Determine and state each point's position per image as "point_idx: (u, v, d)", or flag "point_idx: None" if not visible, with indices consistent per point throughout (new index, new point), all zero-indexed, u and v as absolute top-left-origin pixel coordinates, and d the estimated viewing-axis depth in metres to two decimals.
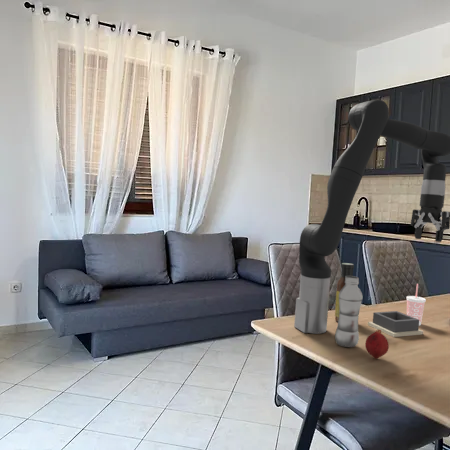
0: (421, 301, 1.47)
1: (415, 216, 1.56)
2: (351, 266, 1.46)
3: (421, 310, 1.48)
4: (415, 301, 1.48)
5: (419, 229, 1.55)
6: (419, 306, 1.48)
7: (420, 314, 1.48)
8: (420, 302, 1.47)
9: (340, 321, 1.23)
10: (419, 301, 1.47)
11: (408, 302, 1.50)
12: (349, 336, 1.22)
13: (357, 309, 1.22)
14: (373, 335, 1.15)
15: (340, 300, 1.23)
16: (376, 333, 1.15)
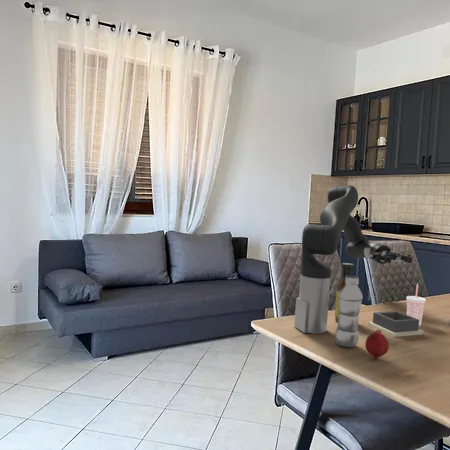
0: (421, 301, 1.47)
1: None
2: (351, 266, 1.46)
3: (421, 310, 1.48)
4: (415, 301, 1.48)
5: None
6: (419, 306, 1.48)
7: (420, 314, 1.48)
8: (420, 302, 1.47)
9: (340, 321, 1.23)
10: (419, 301, 1.47)
11: (408, 302, 1.50)
12: (349, 336, 1.22)
13: (357, 309, 1.22)
14: (373, 335, 1.15)
15: (340, 300, 1.23)
16: (376, 333, 1.15)
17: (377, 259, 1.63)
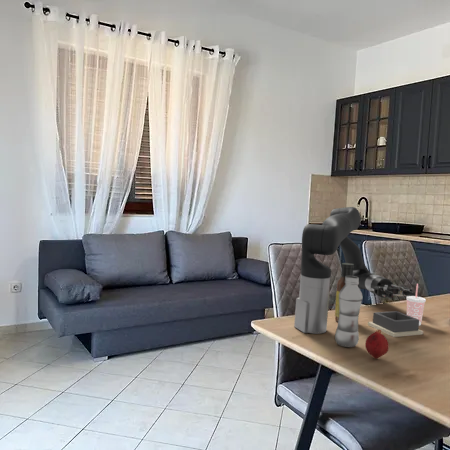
0: (421, 301, 1.47)
1: None
2: (351, 266, 1.46)
3: (421, 310, 1.48)
4: (415, 301, 1.48)
5: None
6: (419, 306, 1.48)
7: (420, 314, 1.48)
8: (420, 302, 1.47)
9: (340, 321, 1.23)
10: (419, 301, 1.47)
11: (408, 302, 1.50)
12: (349, 336, 1.22)
13: (357, 309, 1.22)
14: (373, 335, 1.15)
15: (340, 300, 1.23)
16: (376, 333, 1.15)
17: (379, 294, 1.60)
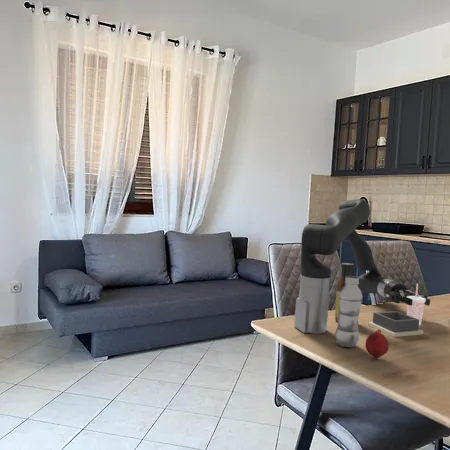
0: (421, 301, 1.47)
1: None
2: (351, 266, 1.46)
3: (421, 310, 1.48)
4: (415, 301, 1.48)
5: None
6: (419, 306, 1.48)
7: (420, 314, 1.48)
8: (420, 302, 1.47)
9: (340, 321, 1.23)
10: (419, 301, 1.47)
11: None
12: (349, 336, 1.22)
13: (357, 309, 1.22)
14: (373, 335, 1.15)
15: (340, 300, 1.23)
16: (376, 333, 1.15)
17: (397, 300, 1.51)
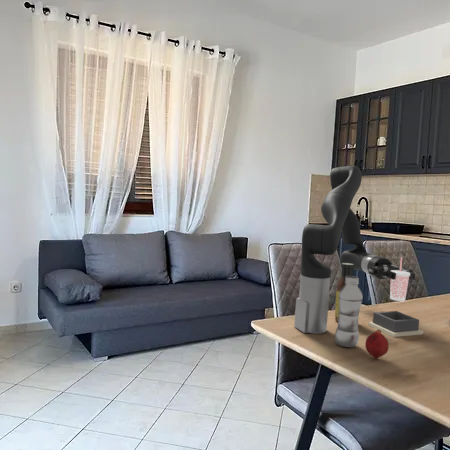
0: (405, 275, 1.38)
1: None
2: (351, 266, 1.46)
3: (405, 284, 1.39)
4: (399, 275, 1.39)
5: None
6: (403, 280, 1.39)
7: (404, 289, 1.39)
8: (404, 276, 1.38)
9: (340, 321, 1.23)
10: (403, 275, 1.38)
11: None
12: (349, 336, 1.22)
13: (357, 309, 1.22)
14: (373, 335, 1.15)
15: (340, 300, 1.23)
16: (376, 333, 1.15)
17: (380, 275, 1.42)
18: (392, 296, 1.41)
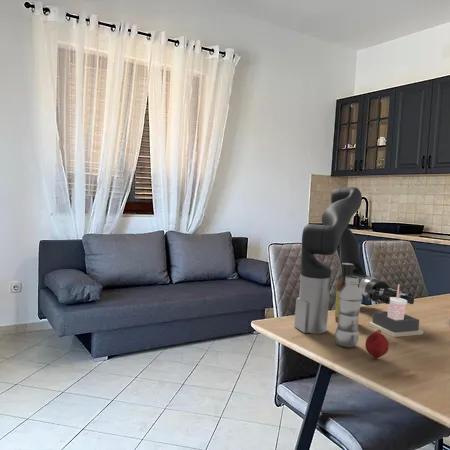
0: (402, 303, 1.39)
1: None
2: (351, 266, 1.46)
3: (402, 312, 1.40)
4: (396, 303, 1.39)
5: None
6: (400, 308, 1.40)
7: (401, 316, 1.40)
8: (401, 304, 1.39)
9: (340, 321, 1.23)
10: (400, 303, 1.39)
11: (389, 304, 1.42)
12: (349, 336, 1.22)
13: (357, 309, 1.22)
14: (373, 335, 1.15)
15: (340, 300, 1.23)
16: (376, 333, 1.15)
17: (374, 299, 1.43)
18: None
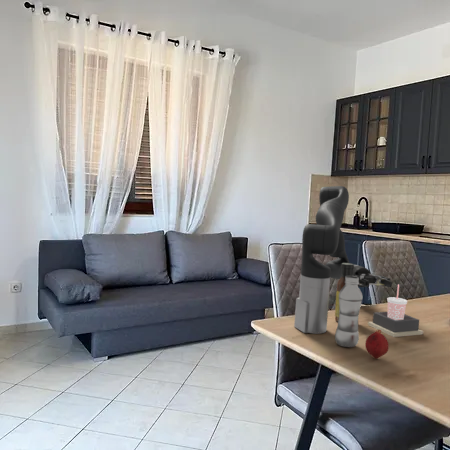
0: (402, 303, 1.39)
1: None
2: (351, 266, 1.46)
3: (402, 312, 1.40)
4: (396, 303, 1.39)
5: None
6: (400, 308, 1.40)
7: (401, 316, 1.40)
8: (401, 304, 1.39)
9: (340, 321, 1.23)
10: (400, 303, 1.39)
11: (389, 304, 1.42)
12: (349, 336, 1.22)
13: (357, 309, 1.22)
14: (373, 335, 1.15)
15: (340, 300, 1.23)
16: (376, 333, 1.15)
17: None
18: None
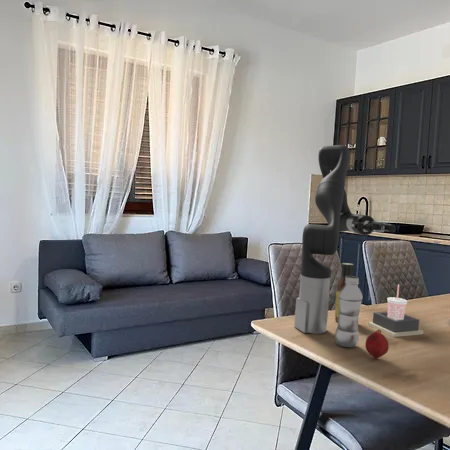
0: (402, 303, 1.39)
1: None
2: (351, 266, 1.46)
3: (402, 312, 1.40)
4: (396, 303, 1.40)
5: None
6: (400, 308, 1.40)
7: (401, 316, 1.40)
8: (401, 304, 1.39)
9: (340, 321, 1.23)
10: (400, 303, 1.39)
11: (389, 304, 1.42)
12: (349, 336, 1.22)
13: (357, 309, 1.22)
14: (373, 335, 1.15)
15: (340, 300, 1.23)
16: (376, 333, 1.15)
17: (359, 228, 1.54)
18: None
